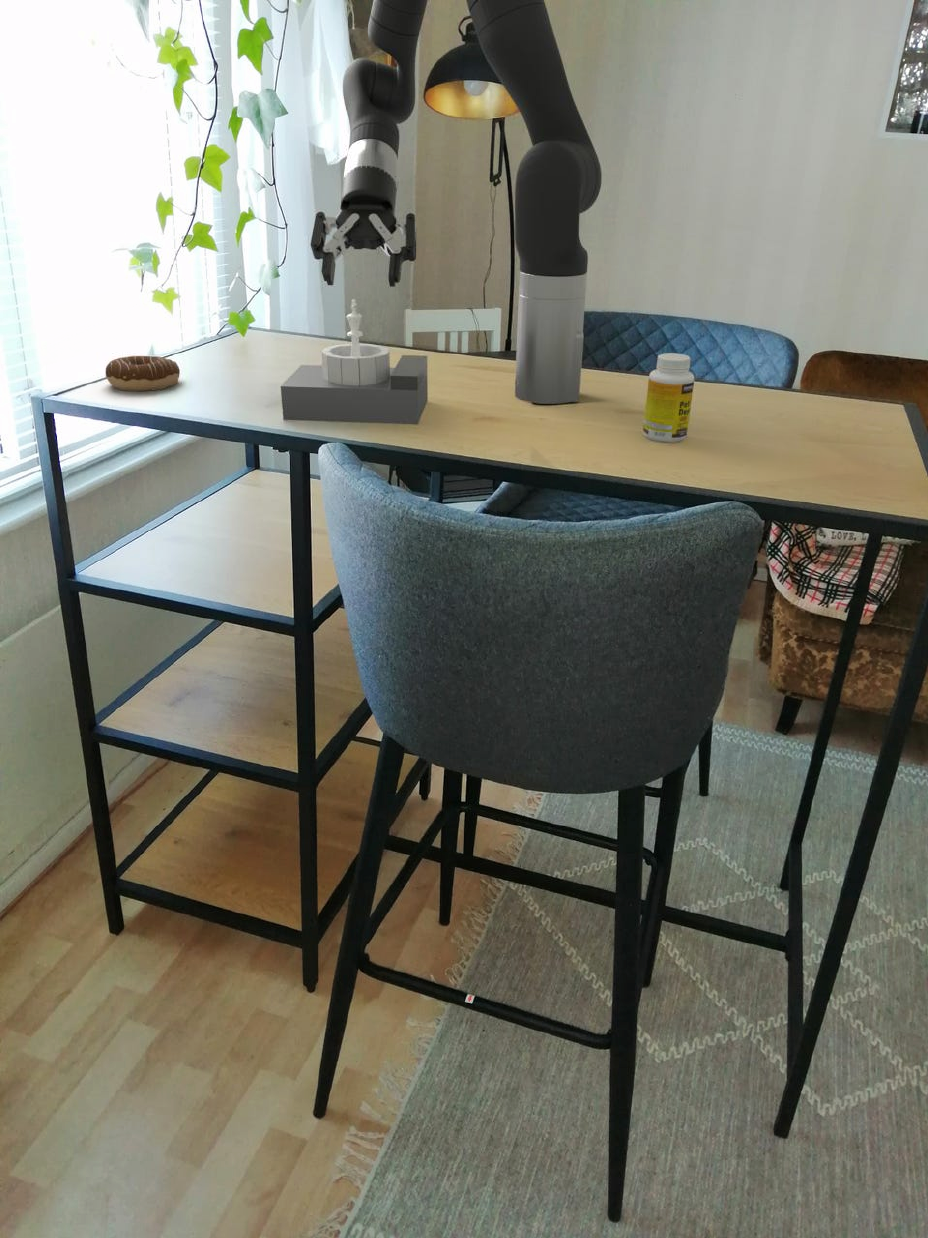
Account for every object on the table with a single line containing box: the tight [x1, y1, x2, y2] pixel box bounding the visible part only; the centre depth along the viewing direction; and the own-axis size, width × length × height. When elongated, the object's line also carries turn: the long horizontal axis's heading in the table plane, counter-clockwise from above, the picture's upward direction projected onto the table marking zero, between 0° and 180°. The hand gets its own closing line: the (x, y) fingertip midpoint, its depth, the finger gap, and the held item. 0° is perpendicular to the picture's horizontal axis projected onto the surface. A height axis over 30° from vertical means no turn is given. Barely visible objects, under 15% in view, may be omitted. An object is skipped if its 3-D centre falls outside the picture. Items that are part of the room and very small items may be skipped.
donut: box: [105, 355, 181, 392], centre depth 138 cm, size 11×11×4 cm
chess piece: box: [346, 299, 364, 357], centre depth 124 cm, size 5×5×10 cm
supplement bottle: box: [642, 352, 695, 443], centre depth 116 cm, size 6×6×10 cm
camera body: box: [280, 343, 429, 425], centre depth 126 cm, size 18×12×8 cm, turn 86°
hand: (360, 282), depth 125 cm, fingers open, 8 cm apart
